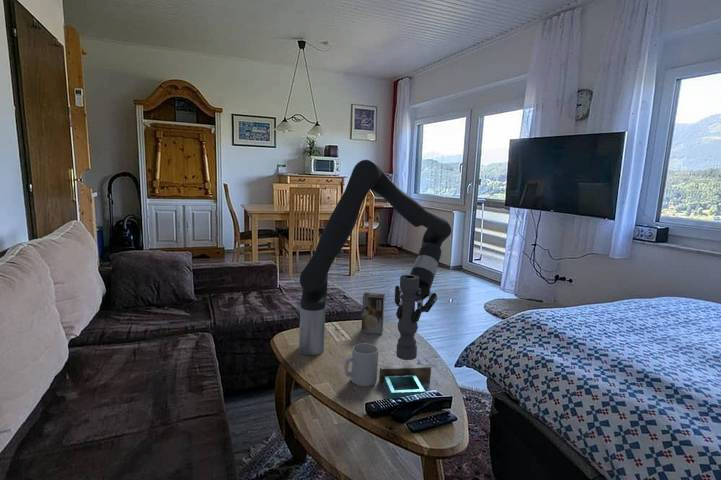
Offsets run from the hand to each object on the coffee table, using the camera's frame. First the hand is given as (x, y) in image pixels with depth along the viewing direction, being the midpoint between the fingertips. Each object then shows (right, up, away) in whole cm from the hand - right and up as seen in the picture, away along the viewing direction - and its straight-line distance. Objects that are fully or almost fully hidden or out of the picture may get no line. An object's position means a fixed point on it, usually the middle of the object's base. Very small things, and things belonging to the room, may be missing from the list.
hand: (406, 319), depth 121 cm
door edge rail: (+1, -23, +13) cm, 26 cm away
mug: (-14, -23, +12) cm, 29 cm away
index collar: (0, -24, +6) cm, 25 cm away
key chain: (+6, -22, +22) cm, 32 cm away
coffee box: (-9, -16, +54) cm, 57 cm away
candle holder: (0, -12, +4) cm, 13 cm away
